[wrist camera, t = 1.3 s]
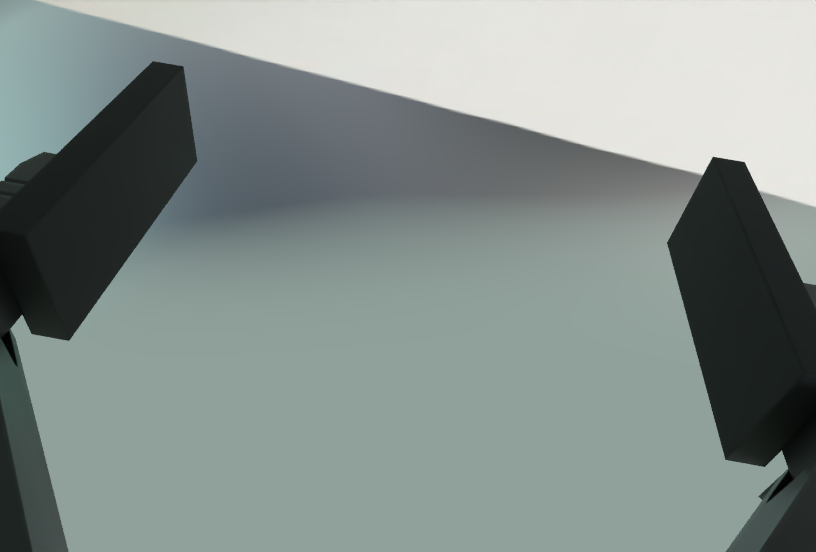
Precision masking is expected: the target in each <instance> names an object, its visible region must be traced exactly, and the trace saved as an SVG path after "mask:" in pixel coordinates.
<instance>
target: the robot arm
mask: <svg viewBox="0 0 816 552" xmlns="http://www.w3.org/2000/svg"><path fill="white" fill-rule="evenodd" d="M196 162H197V157H196V150H195V143H194V137H193V129H192V122H191V116H190V109H189V102H188V96H187V89H186V82H185V75H184V68H183V66H177V65H172V64H166V63H160V62H154V61H153V62H152V63H151V64H150V65H149V66H148V67H147V68H146V69H145V70H143V72H141V73H140V74H139V75H138V76H137V77H136V78H135V79H134V80H133V81H132V82H131V83H130V84H129V85H128V86H127V87H126V88H125V89H124V90H123V91H122V92H121V93H120V94H119V95H118V96H117V97H116V98H114V100H112V101H111V102H110V103H109V104H108V105H107V106H106V107H105V108H104V109H103V110H102V111H101V112H100V113H99V114H98V115H97V116H96V117H95V118H94V119H93V120H92V121H91V122H90V123H89V124H88V125H86V126H85V127H84V128H83V129H82V130H81V131H80V132H79V133H78V134H77V135H76V136H75V137H74V138H73V139H72V140H71V141H70V142H69V143H68V144H67V145H66V146H65V147H64V148H63V149H62V150H61V151H60V152H59V153H57V154H52V153H46V152H43V153H41V154H39V155H37V156H35V157H33V158H30V159H28V160H27V161H24V162H22V163H20V164H19V165H18V166H17V167H16V168H15V169H14V170H13V171H12V172H10V173H9V174H8V175H7V176H6V177H5V181H1V182H0V552H68V548H67V544H66V540H65V536H64V532H63V528H62V524H61V520H60V516H59V512H58V508H57V504H56V500H55V496H54V492H53V488H52V484H51V480H50V476H49V472H48V468H47V464H46V460H45V456H44V451H43V447H42V443H41V439H40V435H39V432H38V427H37V423H36V420H35V415H34V411H33V407H32V403H31V400H30V395H29V391H28V387H27V384H26V379H25V375H24V371H23V367H22V363H21V359H20V355H19V351H18V347H17V344H16V339H15V337H14V335H13V333H12V331H11V329H10V328H11V327H12V326H13V325H14V324H15V322H16V321H17V320H18V319H19V317H20V316H21V315H23V316H24V319H25V321H26V323H27V325H28V327H29V329H30V331H31V333H32V334H35V335H41V336H46V337H52V338H57V339H62V340H68V341H69V340H70V339H71V337H72V336H73V334H74V333H75V332H76V330H77V329H78V328H79V326H80V325H81V323H82V322H83V321H84V319H85V318H86V316H87V315H88V313H89V312H90V311H91V309H92V308H93V306H94V305H95V304H96V302H97V300H98V299H99V298H100V296H101V295H102V294H103V292H104V291H105V290H106V288H107V287H108V285H109V284H110V283H111V281H112V280H113V278H114V277H115V275H116V274H117V273H118V271H119V270H120V269H121V267H122V266H123V264H124V263H125V261H126V260H127V259H128V257H129V256H130V254H131V253H132V252H133V250H134V249H135V248H136V246H137V245H138V243H139V242H140V241H141V239H142V238H143V236H144V235H145V233H146V232H147V231H148V229H149V228H150V227H151V225H152V224H153V222H154V221H155V220H156V218H157V217H158V215H159V214H160V213H161V211H162V210H163V208H164V207H165V205H166V204H167V203H168V201H169V200H170V199H171V197H172V196H173V194H174V193H175V191H176V190H177V189H178V187H179V186H180V184H181V183H182V182H183V180H184V179H185V177H186V176H187V174H188V173H189V172H190V170H191V169H192V168H193V166H194V165H195V163H196ZM667 244H668V248H669V251H670V255H671V258H672V263H673V266H674V270H675V274H676V277H677V281H678V285H679V289H680V292H681V296H682V300H683V303H684V307H685V311H686V314H687V318H688V322H689V326H690V329H691V333H692V337H693V341H694V344H695V348H696V352H697V355H698V359H699V363H700V366H701V370H702V374H703V377H704V382H705V385H706V389H707V393H708V396H709V400H710V404H711V407H712V411H713V415H714V419H715V422H716V426H717V430H718V433H719V437H720V441H721V445H722V448H723V452H724V456H725V459H726V460H730V461H736V462H741V463H747V464H752V465H758V466H763V467H765V466H766V465H767V464H768V463H769V462H770V461H771V460H772V459H773V458H774V457H775V456H776V455H777V454H778V453H779V452H780V451H781V450H782V451H783V455H784V457H785V460H786V463H787V465H788V469H787V470H786V471H785V472H784V473H783V474H782V475H781V476H780V477H779V478H778V479H777V480H776V481H775V482H774V483H773V484H771V485H770V486H769V487H768V488H767V489H766V490H765V491H764V492H763V493H762V494H761V495H760V496H759V497H760V498H761V499H762V502H761V503H760V505H759V506H758V507H757V509H756V510H755V512H754V513H753V514H752V516H751V517H750V519H749V520H748V521H747V523H746V524H745V526H744V527H743V528H742V530H741V531H740V533H739V534H738V535H737V537H736V538H735V540H734V541H733V542H732V544H731V545H730V547H729V548H728V549H727V551H726V552H816V285H812V284H805V283H803V282H802V280H801V278H800V276H799V273H798V272H797V269H796V267H795V265H794V263H793V261H792V259H791V257H790V255H789V253H788V251H787V249H786V247H785V245H784V243H783V241H782V238H781V236H780V235H779V232H778V230H777V228H776V226H775V224H774V222H773V220H772V218H771V216H770V214H769V212H768V210H767V208H766V205H765V204H764V201H763V199H762V197H761V195H760V193H759V191H758V189H757V187H756V185H755V183H754V181H753V179H752V177H751V175H750V173H749V170H748V168H747V166H746V164H745V162H740V161H734V160H729V159H723V158H717V157H713V158H712V160H711V161H710V163H709V165H708V167H707V169H706V171H705V173H704V175H703V177H702V178H701V180H700V182H699V184H698V186H697V188H696V190H695V192H694V193H693V195H692V197H691V199H690V201H689V203H688V205H687V207H686V208H685V210H684V212H683V214H682V216H681V218H680V220H679V222H678V224H677V225H676V227H675V229H674V231H673V233H672V235H671V237H670V239H669V240H668V242H667Z"/></svg>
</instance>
